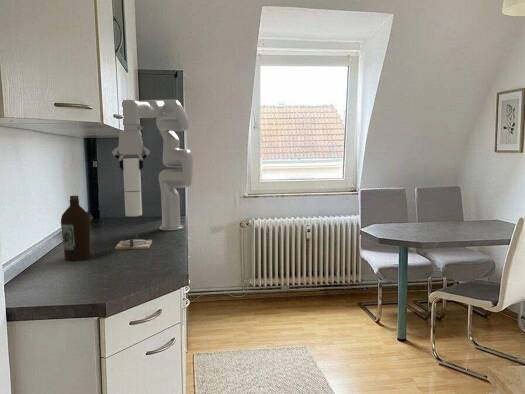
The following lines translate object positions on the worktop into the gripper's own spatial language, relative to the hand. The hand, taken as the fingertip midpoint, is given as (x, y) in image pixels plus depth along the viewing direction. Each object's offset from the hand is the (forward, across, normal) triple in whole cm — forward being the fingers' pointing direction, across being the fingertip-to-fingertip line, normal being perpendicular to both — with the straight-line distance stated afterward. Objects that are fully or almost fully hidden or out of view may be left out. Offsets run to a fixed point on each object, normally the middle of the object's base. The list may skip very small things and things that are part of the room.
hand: (131, 169), depth 203 cm
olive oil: (+34, +19, +20) cm, 44 cm away
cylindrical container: (+20, 0, 0) cm, 20 cm away
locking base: (+34, 0, 0) cm, 34 cm away
